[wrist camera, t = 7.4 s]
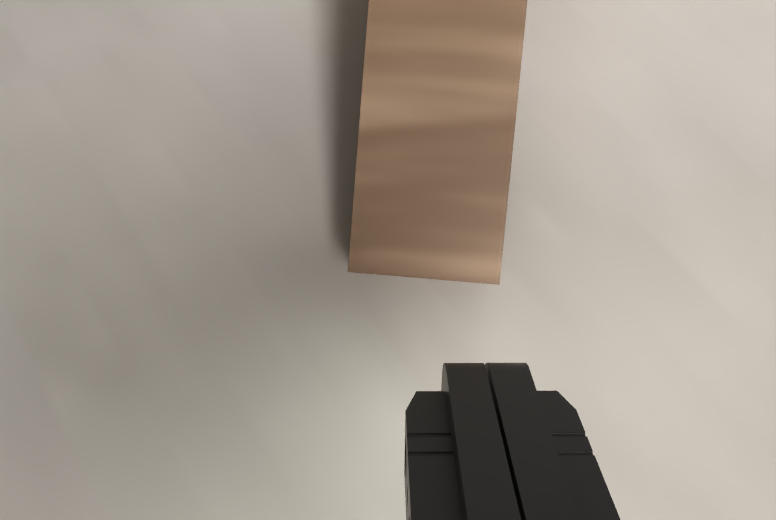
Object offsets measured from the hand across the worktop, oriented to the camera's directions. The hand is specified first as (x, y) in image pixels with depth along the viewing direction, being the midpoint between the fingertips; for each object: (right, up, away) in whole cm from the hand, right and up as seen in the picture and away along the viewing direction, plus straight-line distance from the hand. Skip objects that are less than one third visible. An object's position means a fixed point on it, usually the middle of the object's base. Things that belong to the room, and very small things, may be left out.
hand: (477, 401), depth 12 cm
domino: (0, +2, +10) cm, 10 cm away
